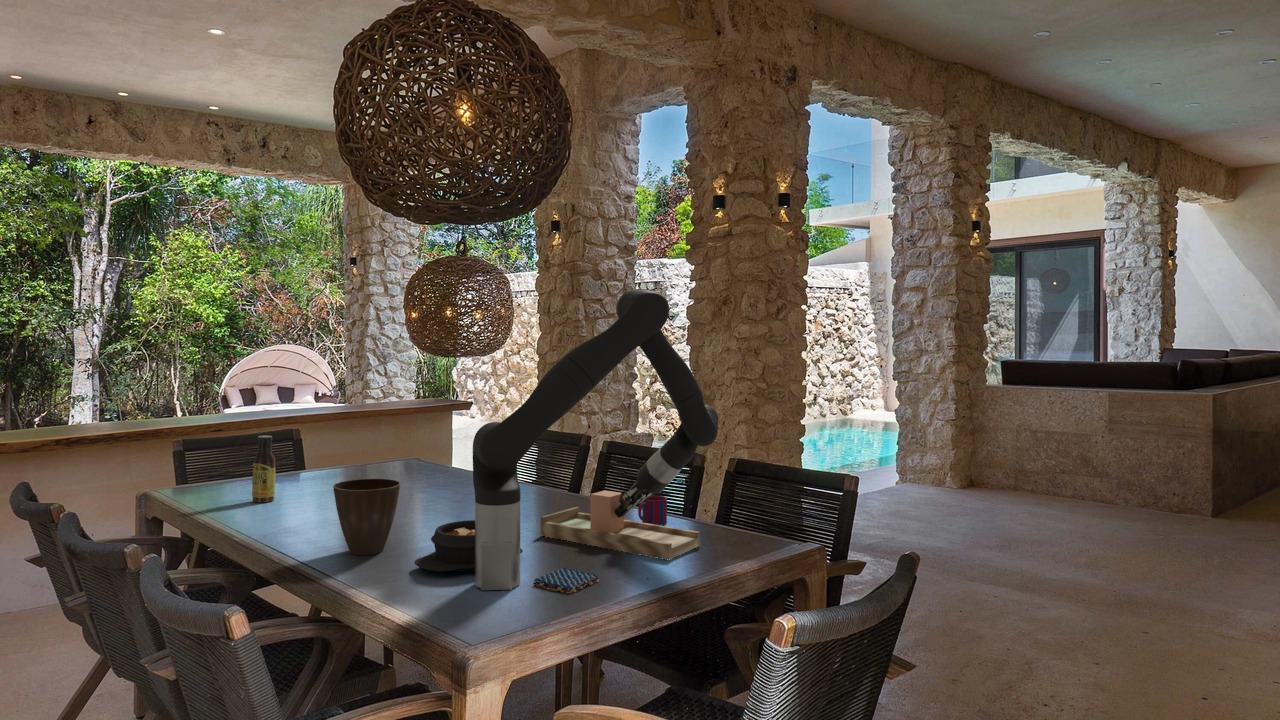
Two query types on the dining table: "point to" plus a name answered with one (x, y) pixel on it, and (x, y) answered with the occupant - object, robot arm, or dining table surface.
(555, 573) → the woven mat
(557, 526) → the tray
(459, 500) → the dining table surface
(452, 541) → the casserole
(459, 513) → the dining table surface
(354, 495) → the plant pot
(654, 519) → the mug
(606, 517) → the terracotta block
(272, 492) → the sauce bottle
